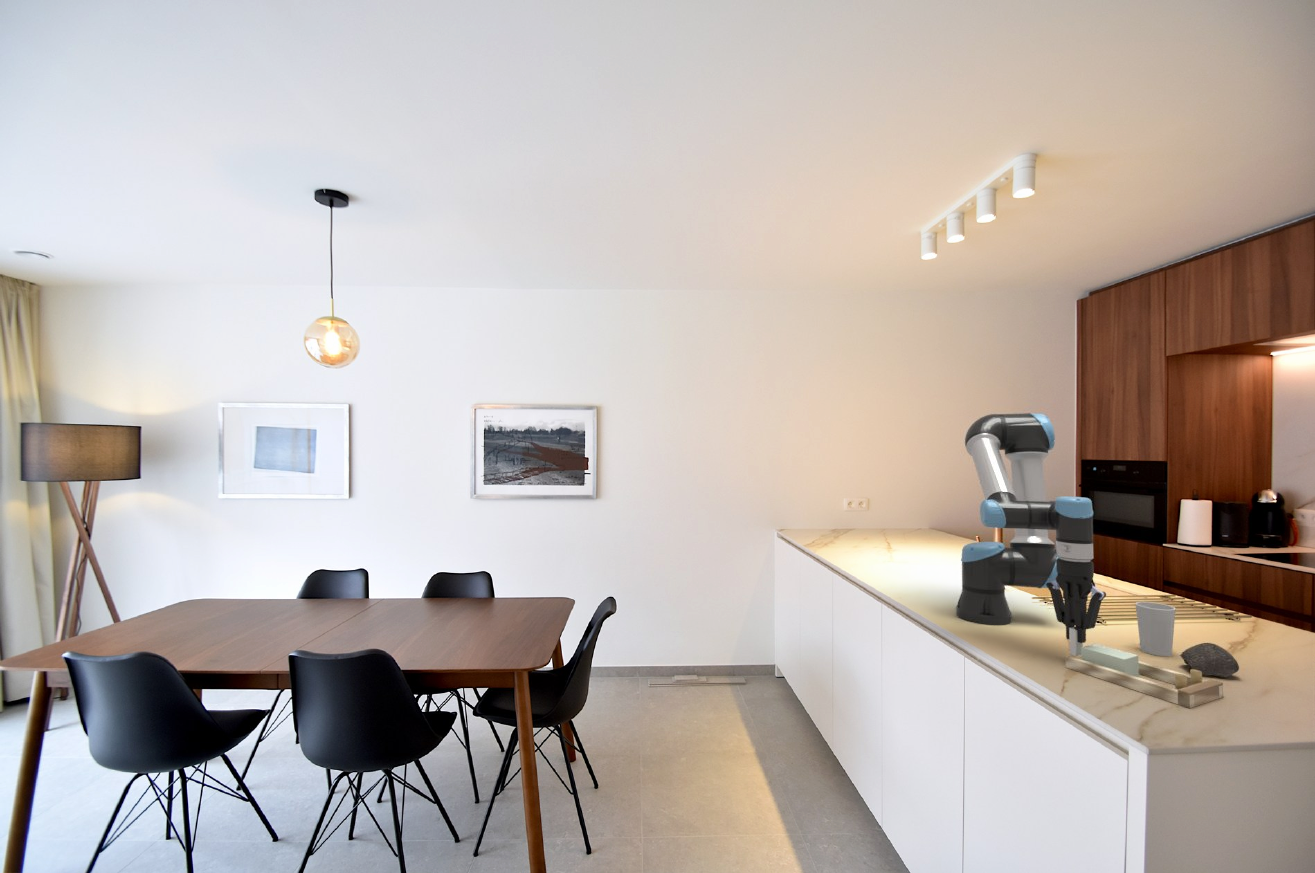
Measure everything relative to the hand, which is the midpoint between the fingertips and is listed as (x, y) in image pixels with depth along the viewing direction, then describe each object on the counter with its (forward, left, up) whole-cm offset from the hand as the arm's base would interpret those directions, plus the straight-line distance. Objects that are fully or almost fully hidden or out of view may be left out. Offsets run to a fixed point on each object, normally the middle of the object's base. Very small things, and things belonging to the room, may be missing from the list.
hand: (1076, 654), depth 143 cm
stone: (+17, +21, -2) cm, 27 cm away
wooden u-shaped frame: (+13, 0, -2) cm, 13 cm away
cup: (+4, +26, -2) cm, 27 cm away
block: (+7, 0, -2) cm, 7 cm away
